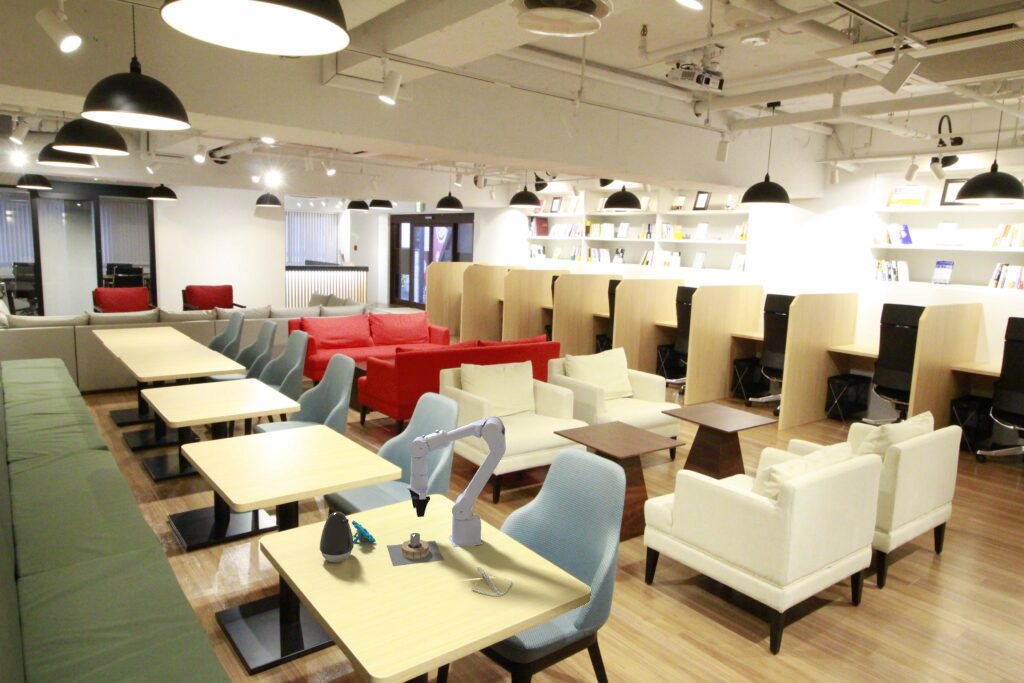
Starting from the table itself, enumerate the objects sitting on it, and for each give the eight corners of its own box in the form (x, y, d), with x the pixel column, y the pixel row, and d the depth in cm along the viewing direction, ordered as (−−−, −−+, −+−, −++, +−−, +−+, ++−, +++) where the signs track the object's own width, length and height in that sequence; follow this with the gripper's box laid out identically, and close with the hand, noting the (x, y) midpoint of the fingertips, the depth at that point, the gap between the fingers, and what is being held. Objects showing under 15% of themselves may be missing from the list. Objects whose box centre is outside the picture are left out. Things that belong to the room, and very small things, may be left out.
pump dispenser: (334, 570, 196) (334, 522, 194) (313, 559, 203) (312, 512, 200) (360, 558, 204) (361, 512, 202) (339, 548, 211) (339, 503, 208)
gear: (379, 543, 212) (356, 523, 209) (366, 557, 210) (343, 538, 208) (373, 533, 222) (352, 515, 219) (361, 547, 221) (339, 528, 218)
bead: (425, 545, 214) (425, 538, 213) (430, 557, 206) (430, 549, 205) (399, 548, 211) (399, 541, 211) (403, 560, 203) (403, 552, 203)
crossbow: (519, 596, 188) (519, 589, 188) (478, 604, 183) (479, 597, 183) (497, 567, 202) (498, 561, 202) (459, 574, 197) (460, 568, 197)
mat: (434, 542, 217) (434, 540, 217) (444, 561, 204) (444, 559, 204) (386, 547, 212) (386, 545, 212) (392, 567, 199) (393, 565, 199)
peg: (418, 550, 210) (419, 532, 209) (420, 554, 207) (420, 536, 207) (409, 551, 209) (409, 533, 208) (410, 555, 206) (411, 537, 206)
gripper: (403, 466, 222) (403, 504, 224) (410, 481, 208) (410, 521, 210) (424, 465, 224) (423, 502, 226) (432, 480, 211) (431, 519, 212)
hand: (418, 512), depth 218 cm, fingers open, 7 cm apart
